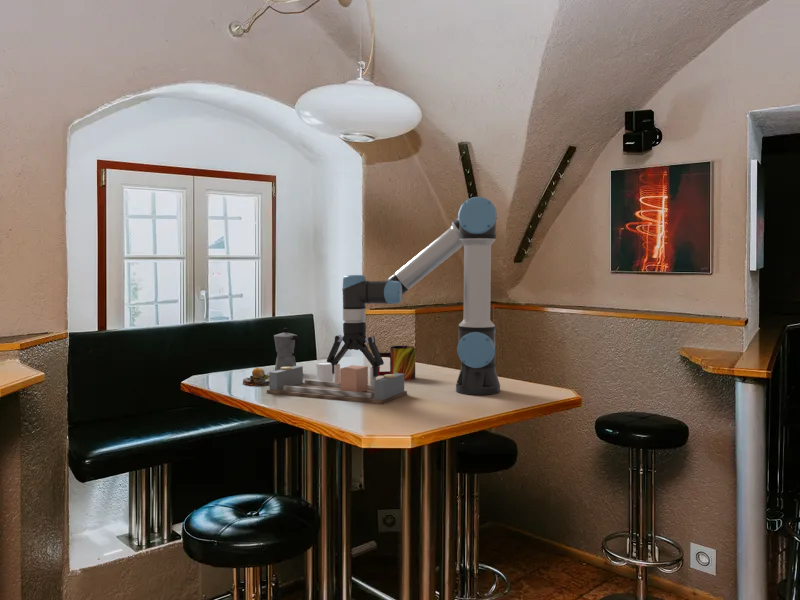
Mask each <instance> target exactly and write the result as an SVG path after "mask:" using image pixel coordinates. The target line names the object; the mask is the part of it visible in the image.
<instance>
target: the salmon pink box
mask: <svg viewBox="0 0 800 600" xmlns="http://www.w3.org/2000/svg"><path fill="white" fill-rule="evenodd" d="M368 368H369V367H368V365H366V366H365V365H348V366H345V367H340V390H341V391H353V392H364V391H367V390H368V385H369V371H368V370H369V369H368Z"/></svg>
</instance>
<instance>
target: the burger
mask: <svg viewBox="0 0 800 600" xmlns="http://www.w3.org/2000/svg"><path fill="white" fill-rule="evenodd" d="M242 384H243V385H246V386H247V385H248V386H249V387H250V386H252V387H262V386H263V387H264V386H270V385H269V372H268V373H267V374H266V373H265V370H264V369H263V368H262V367H255V368H254V369H253V370H252V372H251V375H250V376H249V377H246V378H243V380H242Z"/></svg>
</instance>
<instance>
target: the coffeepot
mask: <svg viewBox="0 0 800 600" xmlns="http://www.w3.org/2000/svg"><path fill="white" fill-rule="evenodd" d="M273 339H274V344H275V351H276V355H277V356H276V357H275V358H276V359H275V365H274V371H277V370H281V367H293V366H297V363H296V357H295V356H296V355H297V352H298V347H299V344H300V343H299V342H300V338H299V337H298V335H297V334H294V333H290V332H288V327H283V332H281V333H278V334H274V335H273Z"/></svg>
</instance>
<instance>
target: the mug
mask: <svg viewBox="0 0 800 600" xmlns="http://www.w3.org/2000/svg"><path fill="white" fill-rule="evenodd" d="M379 353H380V355H381V357H382V358H389V371H387V370H386V371H383V370H382V371H381V367H380V366H381V365H380V366H379V367H378V376H377V377H379V376H380V377H382V376H383V377H384V375H386V374H395V373H401V374H404V381H412V380H416V346H414V345H392V346H390V347H389V352H379Z"/></svg>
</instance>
